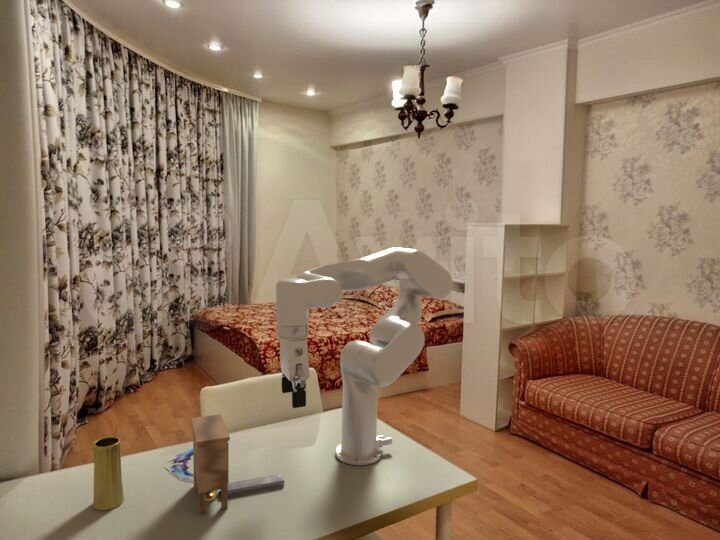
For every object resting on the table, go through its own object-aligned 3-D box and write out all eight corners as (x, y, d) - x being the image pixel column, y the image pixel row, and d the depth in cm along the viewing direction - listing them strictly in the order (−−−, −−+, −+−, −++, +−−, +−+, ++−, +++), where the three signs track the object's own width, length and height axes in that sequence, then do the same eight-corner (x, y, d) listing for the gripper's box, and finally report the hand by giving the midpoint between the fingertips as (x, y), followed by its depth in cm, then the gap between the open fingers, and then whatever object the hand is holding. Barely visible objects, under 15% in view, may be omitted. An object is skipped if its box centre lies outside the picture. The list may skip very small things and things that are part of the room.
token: (215, 492, 113) (215, 487, 113) (218, 501, 110) (218, 496, 110) (197, 496, 112) (197, 491, 112) (199, 505, 108) (199, 500, 108)
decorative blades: (173, 444, 134) (210, 443, 136) (173, 447, 134) (210, 445, 136) (154, 483, 115) (198, 480, 117) (154, 486, 115) (198, 484, 117)
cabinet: (221, 480, 118) (220, 414, 116) (229, 509, 106) (229, 436, 105) (191, 485, 115) (191, 418, 113) (197, 516, 104) (196, 442, 102)
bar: (281, 481, 119) (281, 473, 119) (284, 487, 116) (284, 480, 116) (220, 492, 114) (220, 484, 113) (221, 499, 111) (221, 491, 111)
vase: (102, 494, 111) (101, 434, 109) (129, 495, 111) (127, 436, 109) (87, 510, 105) (84, 447, 103) (114, 511, 105) (113, 449, 103)
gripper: (319, 338, 108) (319, 410, 111) (298, 321, 124) (298, 384, 126) (286, 341, 106) (287, 416, 108) (269, 323, 121) (270, 389, 124)
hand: (293, 399), depth 117 cm, fingers open, 9 cm apart
